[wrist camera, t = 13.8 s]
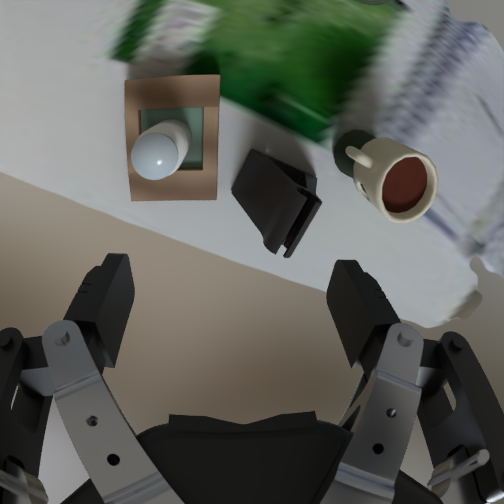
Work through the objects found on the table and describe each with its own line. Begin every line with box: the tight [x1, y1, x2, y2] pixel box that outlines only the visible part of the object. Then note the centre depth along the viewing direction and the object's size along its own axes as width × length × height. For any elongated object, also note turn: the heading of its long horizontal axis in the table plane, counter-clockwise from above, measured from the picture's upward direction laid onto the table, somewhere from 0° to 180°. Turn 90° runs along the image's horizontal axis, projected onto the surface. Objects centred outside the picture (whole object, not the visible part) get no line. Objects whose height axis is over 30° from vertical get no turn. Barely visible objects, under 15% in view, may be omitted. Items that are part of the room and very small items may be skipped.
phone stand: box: [231, 149, 322, 258], centre depth 30 cm, size 9×6×12 cm, turn 65°
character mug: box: [334, 130, 438, 223], centre depth 28 cm, size 11×7×13 cm, turn 66°
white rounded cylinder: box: [131, 119, 192, 180], centre depth 25 cm, size 5×5×8 cm
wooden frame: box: [125, 75, 221, 201], centre depth 29 cm, size 14×10×3 cm
